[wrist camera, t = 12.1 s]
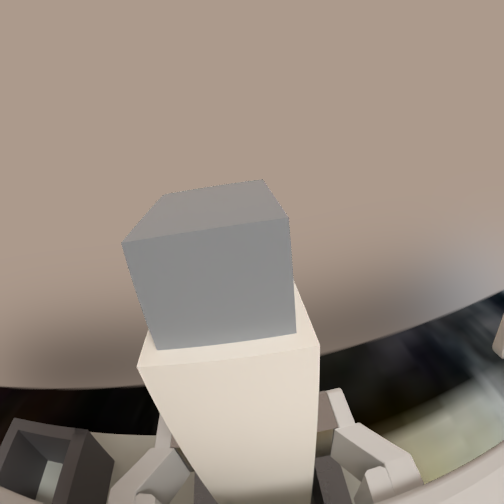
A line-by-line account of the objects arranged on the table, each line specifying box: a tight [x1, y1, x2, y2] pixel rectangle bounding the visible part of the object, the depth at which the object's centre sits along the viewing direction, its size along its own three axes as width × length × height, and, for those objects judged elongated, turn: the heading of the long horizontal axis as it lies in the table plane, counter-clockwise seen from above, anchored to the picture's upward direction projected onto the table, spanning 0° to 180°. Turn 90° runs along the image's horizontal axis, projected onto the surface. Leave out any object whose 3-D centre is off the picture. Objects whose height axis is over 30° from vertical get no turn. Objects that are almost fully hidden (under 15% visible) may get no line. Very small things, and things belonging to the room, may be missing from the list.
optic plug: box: [122, 179, 320, 504], centre depth 9 cm, size 3×4×16 cm
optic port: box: [194, 455, 352, 504], centre depth 12 cm, size 7×8×4 cm
